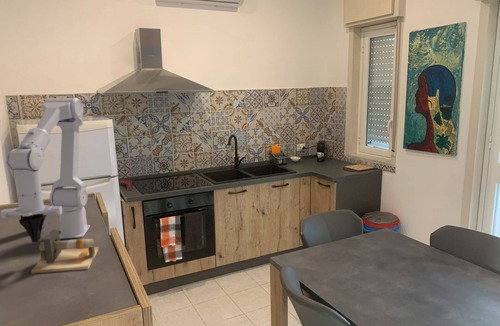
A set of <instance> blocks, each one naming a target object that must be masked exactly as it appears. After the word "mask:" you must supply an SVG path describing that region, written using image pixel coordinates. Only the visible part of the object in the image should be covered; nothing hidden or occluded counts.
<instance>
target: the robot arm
mask: <svg viewBox="0 0 500 326" xmlns="http://www.w3.org/2000/svg"><path fill="white" fill-rule="evenodd" d="M42 111H43V113H42V116H41V117H40V119H39V121H38V124H37V125H36V127H35V128H34V127H33V128H30V129H29V130H28V131H27V133H26V134H25V136H24V138H23V139H22V141H21V142H20V143H19V145H18V147H17V148H14V149H12V150H10V151H9V152H8V153H7V156H6V161H5V164H6V167H7V169H8V170H9V171H10V175H11V177H12V178H14V183H15V191H16V197H17V204H18V207H12V208H4V209H3V210H0V216H1V219H7V218H14V217H15V218H19V217H20V219H19V220H18V221H19V224H20V225H21V226H22V227H23V228H24V230H25V231H26V233H27V234H28V235H29V237H30V240H31V242H32V243H38V242H39V241H40V240H41V237H42V236H41V235H42V232H41V230H42V225H43V222H44V223H45V219H46V217H47V216H49V215H50V216H51V215H56V216H58V219H59V220H58V221H59V228H60V232H59V236H60V240H61V239H63V240H64V239H74V238H78V239H79V238H83V237H84V236H85V235H86V233H87V231H88V230H89V228H90V227H91V225H90V224H88V221H87V212H86V208H85V206H86V205H87V203H88V198H89V196H88V190H87V184H86V183H85V182H84V181H83V180H81V179H80V178H78V177H79V175H78V173H79V149H80V148H79V145H80V144H79V143H80V127H81V126H83V123H84V106H83V104H82V101H81V100H80V99H79V98H78V97H73V98H70V97H69V98H67V97H66V98H65V97H64V98H63V97H62V98H60V97H59V98H56V97H55V98H52V97H47V98H46V99H45V100H44V102H43V104H42ZM55 127H59V128H60V129H61V143H60V144H61V145H60V173H59V174H60V175H59V179H57V180H55V182H54V183H52V187H51V192H50V194H49V203H50V205H45V204H44V198H43V192H42V190H43V189H42V182H41V177H40V168H41V167H42V166H43V160H44V159H43V158H44V154H45V153H44V152H45V150H46V148H47V146H48V145H49V143H50V142H51V136H50V133H51V132H52V131H53V129H55Z"/></svg>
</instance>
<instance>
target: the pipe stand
mask: <svg viewBox="0 0 500 326" xmlns="http://www.w3.org/2000/svg"><path fill="white" fill-rule="evenodd" d="M53 246H54V250H61V253H60V254H59V255H58V257H57V258H56V259H55V261H54V262H53V263H47V262H46V255H45V248H44V241H42V242H40V243H39V246H38V247H39V251H40V253H39V254H40V258H41V259H39V260H38V262H37V263H36V265H35V266H34V267H33V268H32V269H31V274H32V275H33V274H43V273H44V274H45V273H55V272H56V273H58V272H67V271H68V272H69V271H78V270H89V269H90V266H91V265H92V262H93V261H94V260H95V257H96V255H97V253H98V252H99V250H100V247H99V246H95V241H94V238H78V239H69V240H60V241H54V242H53Z"/></svg>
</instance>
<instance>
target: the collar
mask: <svg viewBox="0 0 500 326" xmlns="http://www.w3.org/2000/svg"><path fill="white" fill-rule="evenodd" d="M59 234H60V230H59V229H51V231H50V232H49V233H48V234H47V235H46V236H45V237H44V239H43V241H42V242H44V248H45V255H46V262H47V263H53V262H54V261H55V259H56V258H57V257H58V255H59V254H60V253H61V250H54V246H53V242H54V241H61V239H60V236H59Z"/></svg>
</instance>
